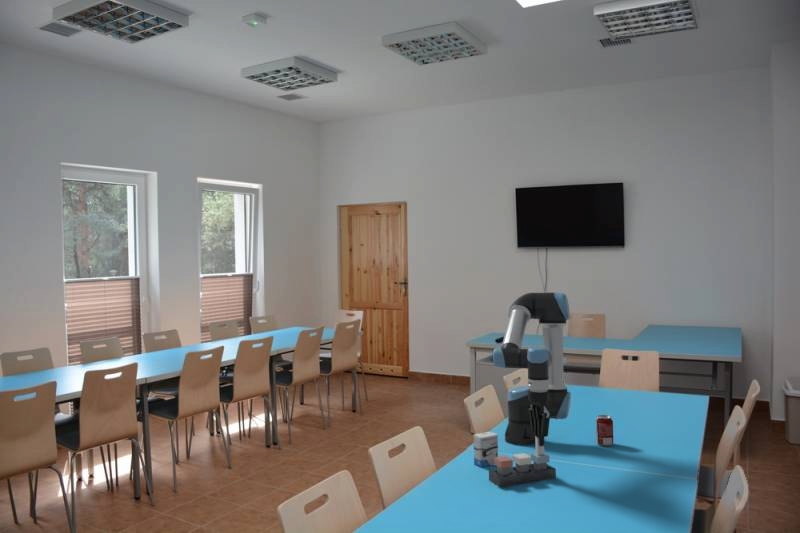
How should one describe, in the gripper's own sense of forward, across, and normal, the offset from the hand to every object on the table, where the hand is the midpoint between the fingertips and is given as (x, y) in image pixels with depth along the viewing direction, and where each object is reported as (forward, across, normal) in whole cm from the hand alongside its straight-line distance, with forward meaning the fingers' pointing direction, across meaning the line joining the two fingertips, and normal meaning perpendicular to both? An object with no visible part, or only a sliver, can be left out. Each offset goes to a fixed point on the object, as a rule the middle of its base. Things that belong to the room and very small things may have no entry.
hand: (539, 453), depth 226 cm
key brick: (+5, 0, -15) cm, 16 cm away
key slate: (+6, 0, 0) cm, 6 cm away
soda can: (+8, -22, +44) cm, 50 cm away
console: (+8, 0, -7) cm, 11 cm away
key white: (+5, 0, -7) cm, 9 cm away
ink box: (+9, -20, -12) cm, 25 cm away
